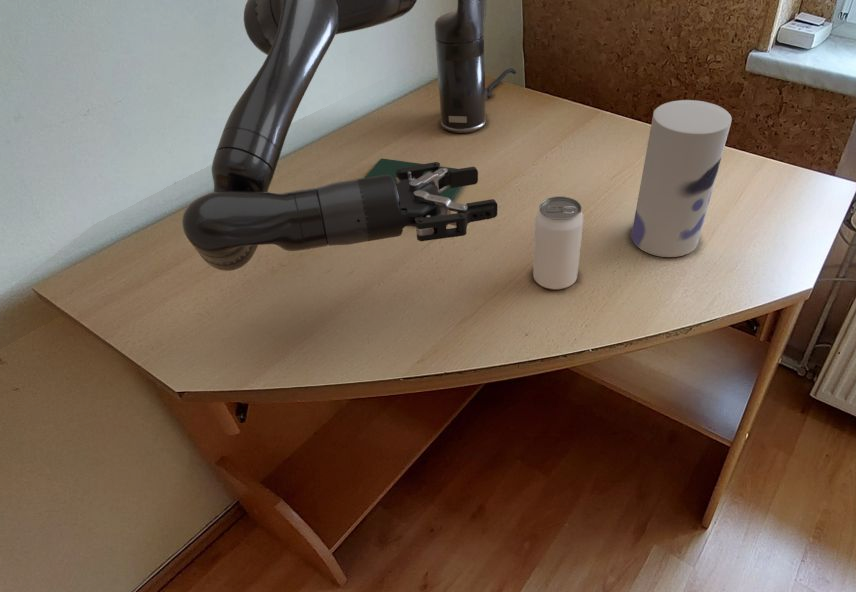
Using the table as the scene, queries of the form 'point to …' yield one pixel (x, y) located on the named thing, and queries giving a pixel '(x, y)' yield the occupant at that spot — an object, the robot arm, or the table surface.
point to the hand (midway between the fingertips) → (486, 190)
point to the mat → (392, 165)
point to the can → (557, 242)
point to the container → (679, 176)
